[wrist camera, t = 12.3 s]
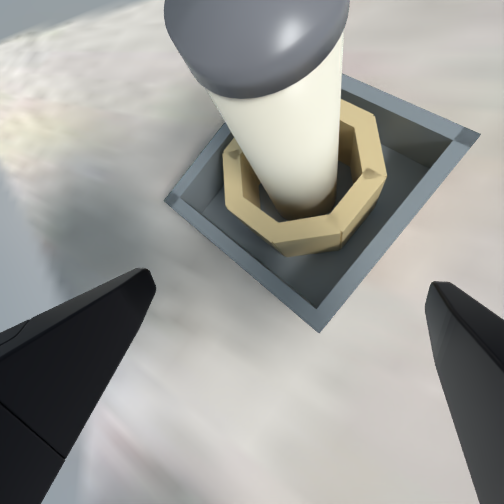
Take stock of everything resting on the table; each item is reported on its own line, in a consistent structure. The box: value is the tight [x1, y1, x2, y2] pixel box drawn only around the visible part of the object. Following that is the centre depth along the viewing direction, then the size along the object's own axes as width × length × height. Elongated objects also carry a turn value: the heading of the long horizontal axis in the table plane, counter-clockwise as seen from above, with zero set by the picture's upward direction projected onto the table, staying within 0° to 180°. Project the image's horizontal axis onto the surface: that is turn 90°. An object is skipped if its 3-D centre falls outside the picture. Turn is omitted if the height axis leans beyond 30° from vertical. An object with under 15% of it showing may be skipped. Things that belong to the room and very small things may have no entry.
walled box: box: [164, 74, 481, 333], centre depth 16 cm, size 12×12×4 cm
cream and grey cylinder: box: [164, 0, 350, 221], centre depth 12 cm, size 4×4×12 cm
